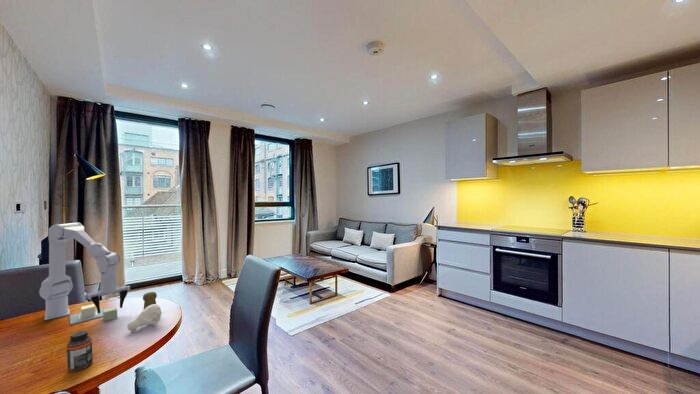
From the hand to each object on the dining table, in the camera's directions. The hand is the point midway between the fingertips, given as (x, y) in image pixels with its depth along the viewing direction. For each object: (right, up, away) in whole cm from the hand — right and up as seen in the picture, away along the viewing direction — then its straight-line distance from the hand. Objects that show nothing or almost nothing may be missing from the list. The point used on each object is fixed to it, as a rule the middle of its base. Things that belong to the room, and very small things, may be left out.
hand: (110, 309), depth 127 cm
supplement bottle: (+21, -5, -36) cm, 42 cm away
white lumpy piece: (+23, -4, -10) cm, 25 cm away
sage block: (0, -4, 0) cm, 4 cm away
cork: (+18, -4, +1) cm, 18 cm away
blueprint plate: (-12, -4, +2) cm, 13 cm away
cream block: (-12, -3, +2) cm, 13 cm away
